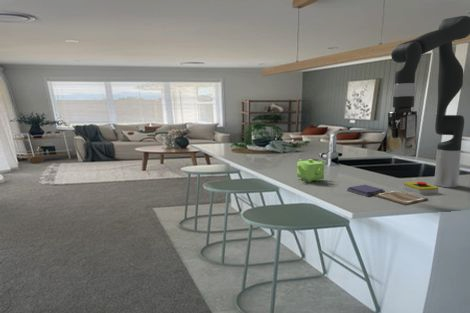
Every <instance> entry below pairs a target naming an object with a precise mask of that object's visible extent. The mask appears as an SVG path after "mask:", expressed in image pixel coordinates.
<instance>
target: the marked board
mask: <svg viewBox="0 0 470 313" xmlns="http://www.w3.org/2000/svg"><path fill="white" fill-rule="evenodd" d="M374 197H376V198H379V199H383V200H387V201H390V202H393V203H396V204H400V205H403V206H407V205H411V204H415V203H420V202H425V201H428V200H429V198H427V197H424V196H421V195H420V196H419V195H415V194H412V193H408V192H403V191H399V190H392V191H387V192H386V191H385V193H380V194H376V195H374Z"/></svg>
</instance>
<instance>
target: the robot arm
mask: <svg viewBox="0 0 470 313" xmlns="http://www.w3.org/2000/svg"><path fill="white" fill-rule="evenodd" d="M469 36H470V16H469V15H460V16H459V15H458V16H453V17H448V18H444V19H442V20H441V22H440V23H439V25H438V29H436V30H433V31H430V32H426V33H424V34H421V35H420V36H417V37H415V38H414V39H410V40H408V41H405V42H403V43H400V44H397V45H396V46H394V48H393V49H392V51H391V53H390V54H391V59H392V60H393V62H395V63H399V64H402V63H404V65H403V66H402V67H400V68H399V69H397V70H395V74H394V87H393V93H392V94H393V95H392V107H393V108H394V109H393V110H394V111H388V113H387V126H388V127H391V128H392V137H393V138H398V132H399V129H398V128H399V123H400V122H401V120H398V121H396V120H395V117H396V115H397V116H398V117H399V116H400V115H417V116H418V114H417V113H418V111H417V110H412V108H414V106H415V97H416V96H415V94H416V84H415V83H416V82H415V80H416V72H417V69H418V66H419V64H420V60H421V58H422V55H424V54H426V53H429V52H430V51H432V50H434V49H437V48H438V56H439V57H438V58H439V59H438V75H437V76H438V77H437V78H438V79H437V106H436V116H435V123H434V129H435V130H434V131H435V133H436V134H437V135H439V136H440V135H441V136H442V135H443V136H453V137H452V138H450V139H449V140H446V141H440V142H439V143H437V147H436V157H435V158H436V159H435V168H434V169H435V171H434V180H433V181H434V182H433V184H434V186H436V187H442V188H457V187H458V186H459V180H460V179H459V177H460V170H461V169H460V168H461V167H460V166H461V165H460V164H461V163H460V161H461V152H462V150H461V149H462V140H463V133H464V128H465V117H464V116H463V115H460V114H456V115H455V114H446V111H447V108H448V106H449V105H450V103H451V102H452V101H453V99H454V98H455V97H456V96H457V95H458V93H460V91H461V90H462V87H463V85H464V84H463V83H464V68H463V66H462V65H461V62H460V61H459V60H458V58H457V56H456V55H455V53H454V51H453V50H454V49H453V42H454V41H457V40H463V39H465V38H467V37H469ZM391 121H392V124H391ZM396 123H397V124H396Z"/></svg>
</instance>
